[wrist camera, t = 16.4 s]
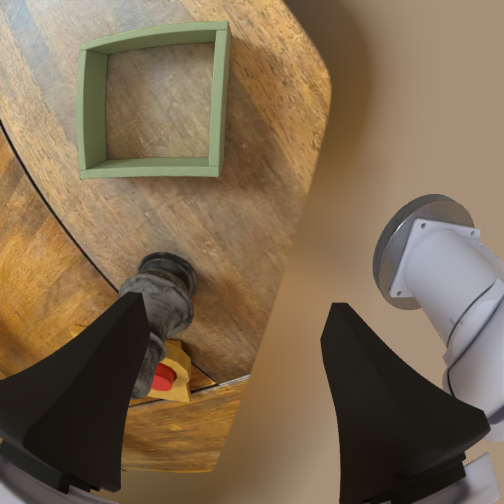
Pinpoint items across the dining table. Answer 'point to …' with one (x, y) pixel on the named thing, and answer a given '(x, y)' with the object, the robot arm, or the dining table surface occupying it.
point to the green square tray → (94, 96)
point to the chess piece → (161, 307)
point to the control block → (174, 360)
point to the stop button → (163, 378)
